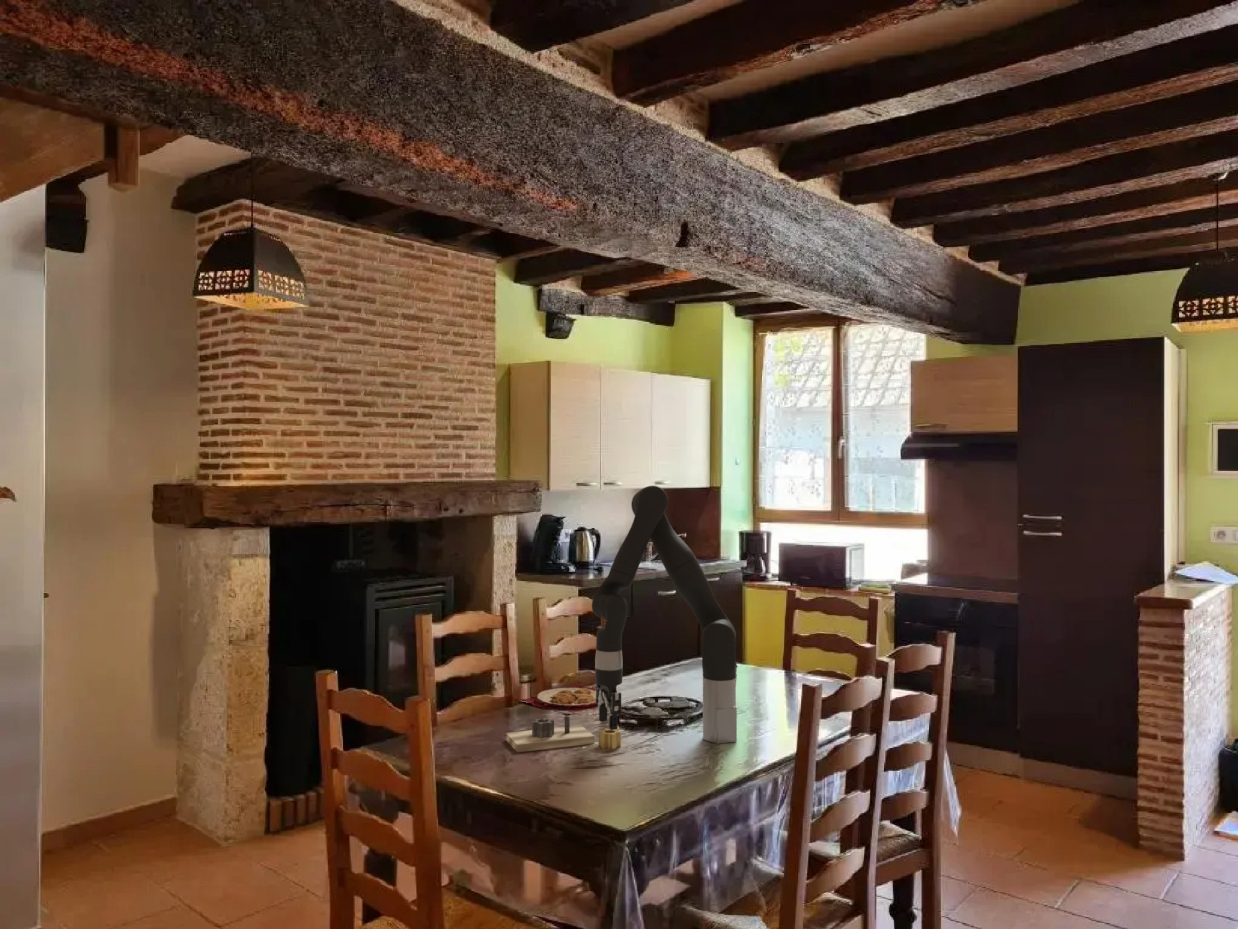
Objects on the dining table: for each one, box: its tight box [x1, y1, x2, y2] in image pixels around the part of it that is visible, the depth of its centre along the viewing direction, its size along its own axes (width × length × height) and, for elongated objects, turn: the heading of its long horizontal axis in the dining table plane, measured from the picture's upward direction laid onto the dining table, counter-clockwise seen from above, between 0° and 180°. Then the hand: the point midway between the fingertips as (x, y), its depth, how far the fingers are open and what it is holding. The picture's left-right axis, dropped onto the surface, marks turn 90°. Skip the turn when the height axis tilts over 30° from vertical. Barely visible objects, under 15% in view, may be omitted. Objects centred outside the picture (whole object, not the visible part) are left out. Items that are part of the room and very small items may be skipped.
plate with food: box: [519, 680, 598, 716], centre depth 305 cm, size 24×26×4 cm
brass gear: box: [598, 727, 622, 750], centre depth 256 cm, size 6×6×4 cm
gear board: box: [505, 715, 596, 753], centre depth 260 cm, size 12×22×6 cm, turn 111°
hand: (608, 725), depth 257 cm, fingers open, 8 cm apart
